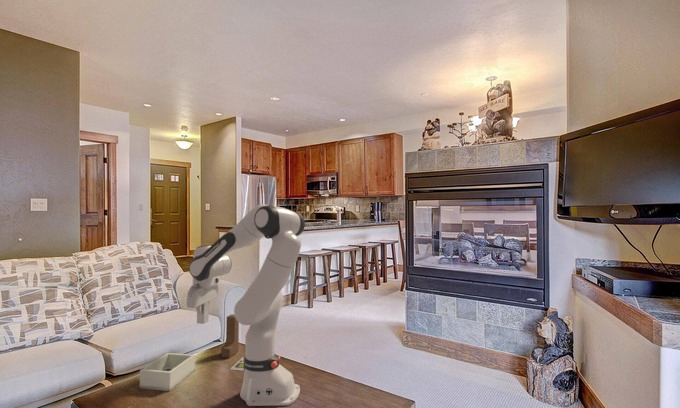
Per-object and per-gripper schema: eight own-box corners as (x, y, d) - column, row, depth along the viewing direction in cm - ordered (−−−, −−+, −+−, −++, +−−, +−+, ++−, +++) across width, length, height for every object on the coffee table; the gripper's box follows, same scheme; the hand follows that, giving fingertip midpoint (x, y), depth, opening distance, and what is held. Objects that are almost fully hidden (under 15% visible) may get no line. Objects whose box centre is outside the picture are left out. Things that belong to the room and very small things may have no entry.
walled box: (194, 371, 151) (195, 354, 151) (169, 391, 135) (170, 372, 135) (167, 369, 153) (167, 352, 154) (139, 388, 137) (139, 370, 137)
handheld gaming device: (261, 356, 167) (248, 370, 152) (261, 357, 167) (248, 372, 152) (244, 355, 168) (229, 368, 153) (244, 356, 168) (229, 370, 153)
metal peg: (208, 321, 157) (208, 301, 157) (204, 323, 153) (204, 303, 154) (201, 320, 157) (201, 300, 158) (196, 323, 154) (197, 302, 154)
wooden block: (229, 358, 165) (229, 320, 165) (220, 357, 166) (221, 319, 166) (238, 351, 173) (239, 314, 174) (230, 350, 174) (231, 314, 175)
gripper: (196, 286, 145) (196, 320, 145) (221, 277, 165) (220, 307, 165) (182, 286, 146) (182, 319, 146) (208, 277, 166) (208, 306, 166)
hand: (202, 312), depth 156 cm, fingers closed on metal peg, 3 cm apart
